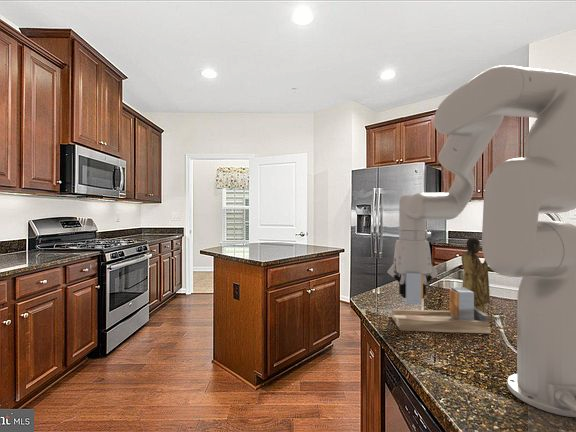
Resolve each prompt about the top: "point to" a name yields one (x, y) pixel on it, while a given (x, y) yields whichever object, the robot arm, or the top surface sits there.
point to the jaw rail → (446, 316)
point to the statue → (476, 274)
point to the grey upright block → (413, 288)
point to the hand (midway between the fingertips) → (412, 296)
